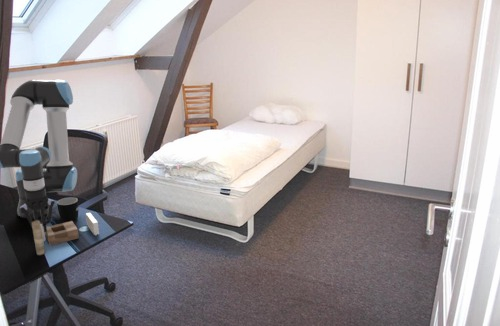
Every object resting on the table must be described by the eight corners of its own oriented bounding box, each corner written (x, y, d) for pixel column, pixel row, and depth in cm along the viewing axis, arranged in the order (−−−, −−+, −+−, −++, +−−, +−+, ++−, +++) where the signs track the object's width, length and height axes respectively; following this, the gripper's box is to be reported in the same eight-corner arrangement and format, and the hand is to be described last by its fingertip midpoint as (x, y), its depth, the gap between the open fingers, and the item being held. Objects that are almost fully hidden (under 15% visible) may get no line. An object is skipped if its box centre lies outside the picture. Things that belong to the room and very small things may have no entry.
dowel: (36, 252, 160) (30, 221, 156) (44, 250, 162) (39, 219, 157) (37, 255, 158) (32, 224, 153) (45, 253, 159) (40, 222, 155)
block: (45, 236, 172) (44, 227, 171) (73, 229, 179) (72, 220, 178) (50, 245, 165) (48, 236, 164) (78, 238, 172) (77, 228, 170)
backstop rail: (86, 225, 184) (85, 213, 182) (91, 224, 185) (90, 212, 183) (94, 235, 174) (93, 223, 173) (99, 234, 176) (97, 222, 174)
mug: (80, 222, 186) (78, 203, 183) (59, 226, 182) (56, 206, 179) (79, 212, 196) (77, 193, 193) (59, 215, 192) (56, 196, 189)
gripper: (17, 194, 154) (27, 247, 161) (54, 187, 161) (61, 238, 168) (15, 188, 159) (24, 239, 167) (50, 182, 167) (57, 231, 174)
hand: (42, 239), depth 167 cm, fingers closed
